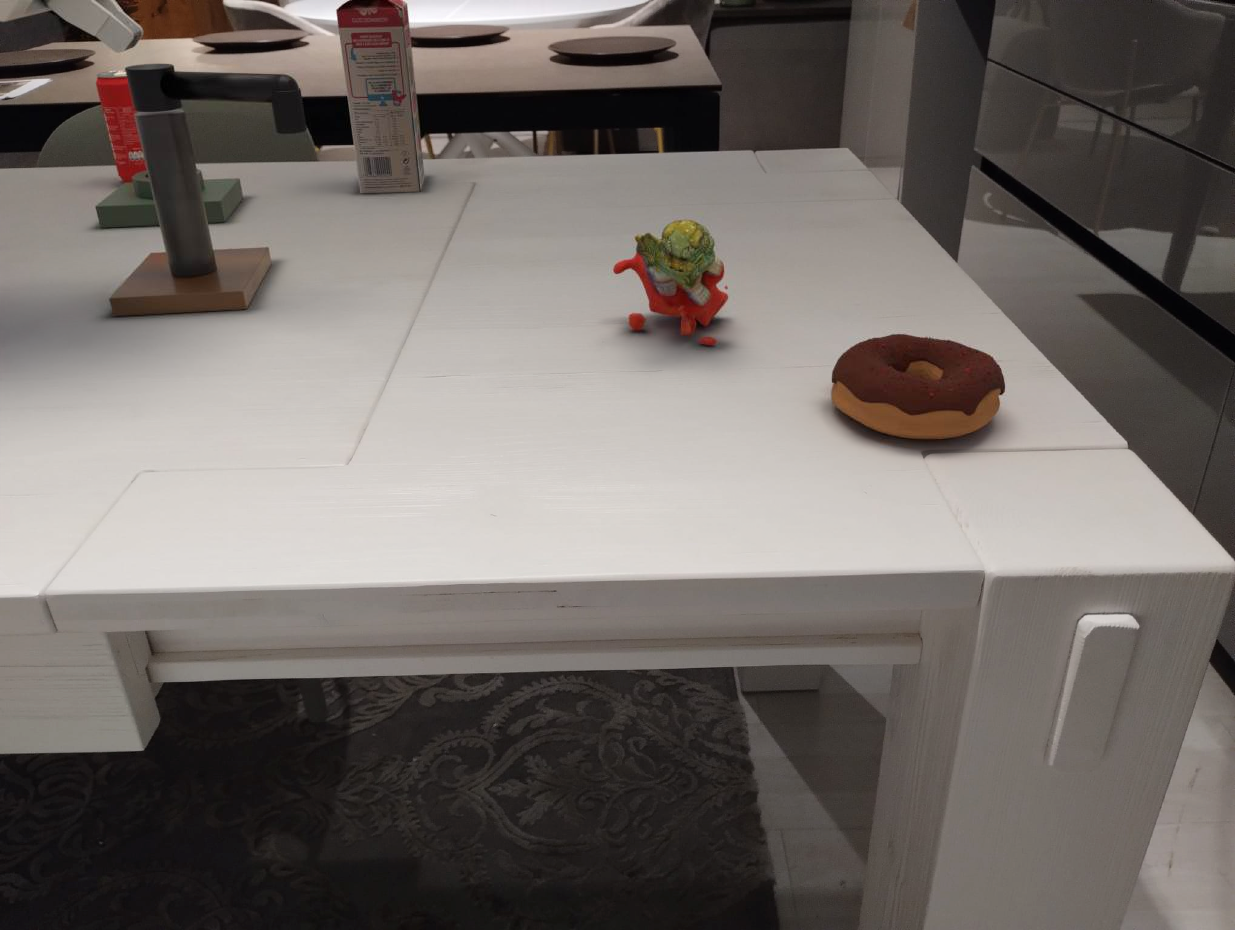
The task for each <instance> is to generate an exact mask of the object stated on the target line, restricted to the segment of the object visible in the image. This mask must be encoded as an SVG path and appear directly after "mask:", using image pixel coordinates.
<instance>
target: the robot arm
mask: <svg viewBox="0 0 1235 930" xmlns="http://www.w3.org/2000/svg"><path fill="white" fill-rule="evenodd" d="M50 11H52V12H54V13H55V14H56V15H58V16H59V17H60V18H62V19H63V20H64V21H65V22H67V23H69V24H71V25H73V26H75V27H77V28H79V29H80V30H82V31H83V32H85V33H88V34H90V35H91V36H93V37H96V38H97V39H98V40H99V41H101V42H102V43H103V44H105V46H107V47H108V48H109V49H111V50H112V51H113V52H114V53H117V54H120V53H123V52H126V51H128V50H131V49H133V48H135V47H136V46H137V44H138V43H139V41H140V40H141V39H142V37H143V36H144V29H143V27H142V26H141V25H140V24H139V23H137V22H136V21H135V20H134V19H133V18H131V17H130V16H129V15H128V14H127V13H125V12H124V10H123V8H122V7H121V6H120V4H118V2H117V1H116V0H0V22H1V23H6V22H10V21H13V20H14V21H15V20H17V19H18V20H19V19H21V18H27V17H31V16H34V15H37V14H43V13H46V12H50Z"/></svg>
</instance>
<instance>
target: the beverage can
mask: <svg viewBox="0 0 1235 930" xmlns="http://www.w3.org/2000/svg"><path fill="white" fill-rule="evenodd" d="M95 76H96V81H95V85H96V89H97V90H96V91H97V94H98V98H99V102H100V106H101V110H102V114H103V118H104V123H105V126H106V127H105V128H106V131H107V134H108V140H109V143H110V146H111V151H112V155H113V159H114V163H115V168H116V172H117V175H118V177H119V178H120V179H121V180H122V182H123V184H124V183H133V181H132V177H133V176H134V175H135V174H136V173H139V172H143V171H146V170H147V169H146V165H145V160H144V155H143V151H142V147H141V142H140V138H139V134H138V129H137V125H136V121H135V117H134V114H135V113H138V111H135V110H134V106H133V102H132V97H131V93H130V89H129V84H128V80H127V76H126V71H125V69H123V70H109V71H104V72H103V71H102V72H98V73H96V74H95Z"/></svg>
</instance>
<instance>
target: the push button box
mask: <svg viewBox="0 0 1235 930" xmlns="http://www.w3.org/2000/svg"><path fill="white" fill-rule="evenodd" d="M197 173H198V178H199V183H200V188H201V192H202V197H203V202H204V207H205V212H206V217H207V221H208V224H217V223H219V224H220V223H226V221H227V220H228V219H229V217H230V216H231V215H232V213H234V211H235V210H236V208H237V207H238V206H239V204H240V203H241V201H243V199H244V194H243V189H242V184H241V178H239V177H235V178H234V177H233V178H209V179H207V178H206V179H204V178H203V172H202V170H201V169H199V168H197ZM132 181H133V183H124V182H123V183H122V184H121V185H120V186H119V187H118V188H117V189H115V190H114V191H112V193H110V194H109V195H107V196H106V197H105V198H104V199H102V200H101V201H100V202H99V203H97V204H96V205H95V206H94V207H95V211H96V216H97V219H98V222H99V223H98V224H99V227H100V228H101V229H108V228H109V229H110V228H111V229H112V228H128V227H130V228H131V227H151V226H152V227H153V226H160V225H159V220H158V216H157V212H156V207H155V203H154V199H153V194H152V190H151V186H150V181H149V178H148V174H147V170H146V171H143V172H139V173H136V174H135V175H134V176H133V177H132Z"/></svg>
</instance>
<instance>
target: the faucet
mask: <svg viewBox="0 0 1235 930" xmlns="http://www.w3.org/2000/svg"><path fill="white" fill-rule="evenodd" d="M134 117H135V121H136V125H137V129H138V134H139V138H140V142H141V147H142V151H143V155H144V160H145V164H146V168H147V173H148V177H149V181H150V186H151V190H152V194H153V199H154V203H155V207H156V212H157V216H158V220H159V225H158V226H159V229H160V232H161V238H162V242H163V245H164V250H165V251H161V252H160V251H159V252H150V253H149V254H148V255H147V256H146V257H145V258H144V259H143V260H142V262H141V263H140V264H139V265H138V266H137V267H136V268H135V269H134V270H133V271H132V272H131V274H129V276H128V277H127V278H126V279H125V280H124V282H122V284H121V285H120V286H118V288H117V289H116V290H115V291H114V292H113V293H112V294H111V296H109V297H108V299H109V300H108V301H109V304H110V307H111V313H112V316H113V317H126V316H127V317H130V316H148V315H164V314H166V315H167V314H183V313H199V312H201V313H203V312H218V311H219V312H220V311H233V310H234V311H235V310H237V311H239V310H247V308H248V307H249V305H250V303H251V301H252V300H253V298H254V296H255V294H256V292H257V291H258V289H259V287H260V285H261V283H262V281H263V279H264V278H265V276H266V274H267V272H268V270H269V269H270V267H271V265H272V258H271V253H270V247H268V246H262V247H243V248H242V247H241V248H222V249H221V248H220V249H214V245H213V240H212V236H211V232H210V227H209V223H208V221H207V217H206V212H205V207H204V202H203V197H202V192H201V188H200V183H199V178H198V173H197V169H198V168H197V165H196V160H195V155H194V149H193V145H192V140H191V135H190V131H189V125H188V121H187V115H186V112H185V110H184V109H182V108H179V109H175V110H170V111H162V112H138V113H135V114H134Z"/></svg>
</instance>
